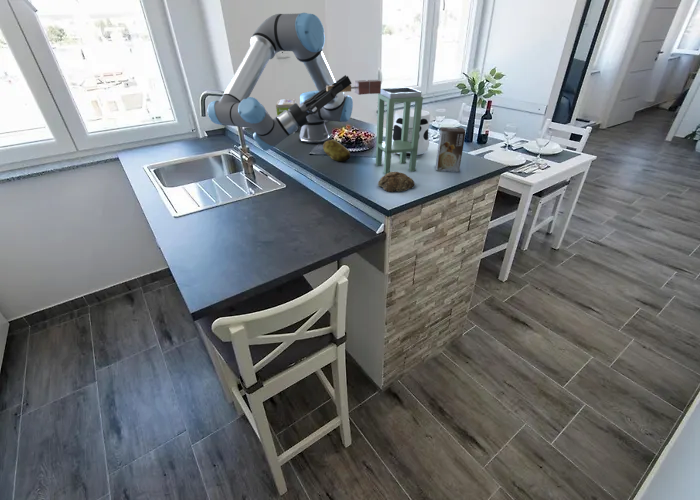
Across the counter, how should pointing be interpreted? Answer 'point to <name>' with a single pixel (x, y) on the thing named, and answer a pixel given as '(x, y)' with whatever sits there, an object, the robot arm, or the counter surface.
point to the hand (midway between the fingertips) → (348, 79)
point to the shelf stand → (403, 144)
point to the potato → (336, 150)
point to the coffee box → (450, 149)
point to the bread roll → (396, 182)
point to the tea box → (284, 105)
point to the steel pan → (400, 93)
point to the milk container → (423, 133)
